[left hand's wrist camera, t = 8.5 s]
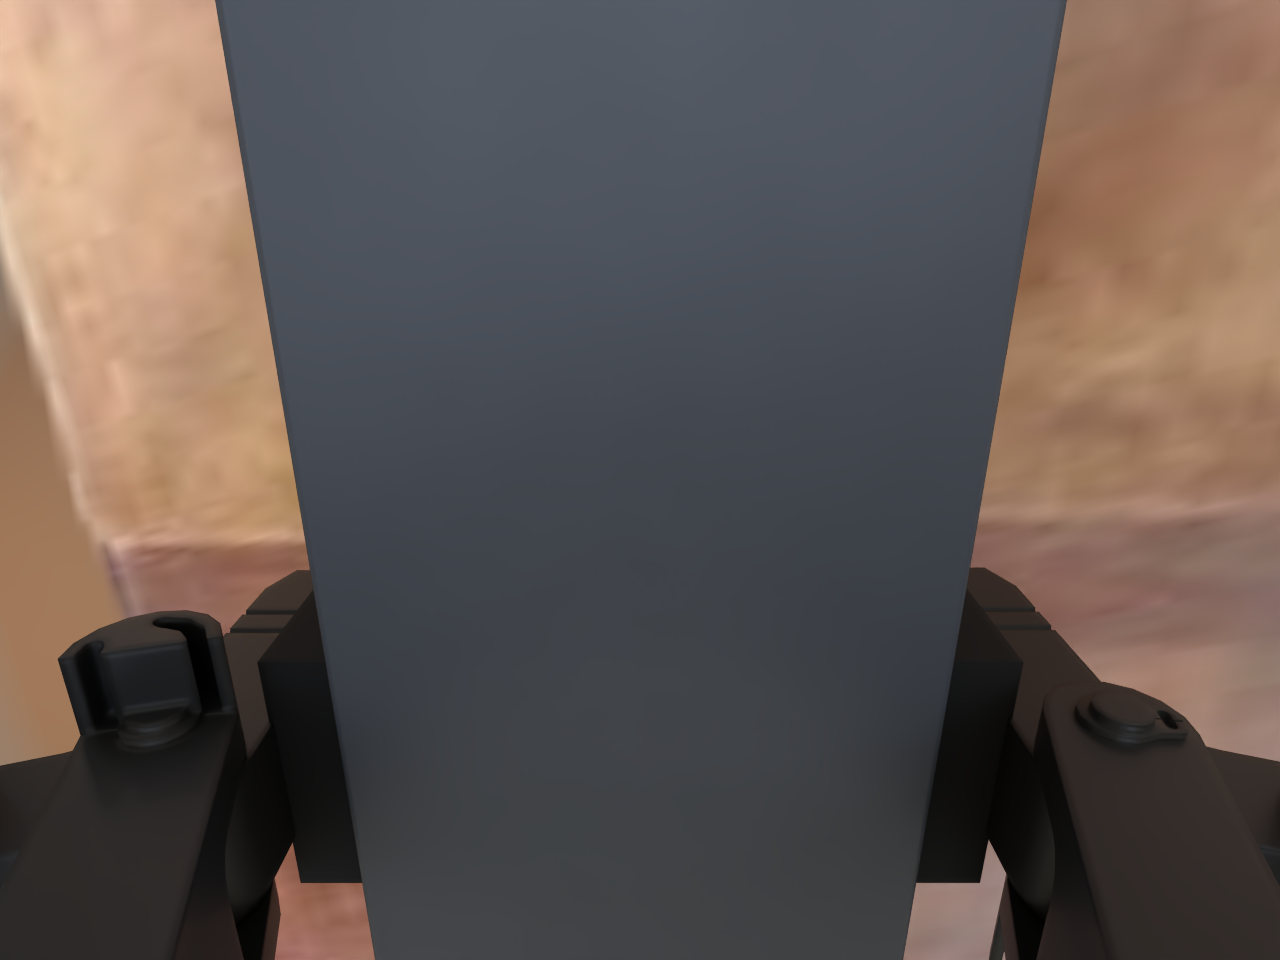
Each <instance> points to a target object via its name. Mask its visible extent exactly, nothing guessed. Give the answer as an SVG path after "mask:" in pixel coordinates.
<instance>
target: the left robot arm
mask: <svg viewBox="0 0 1280 960" xmlns="http://www.w3.org/2000/svg"><path fill="white" fill-rule="evenodd" d="M58 662H59V665H60V668H61V672H62V675H63V678H64V682H65V685H66V688H67V692H68V695H69V698H70V702H71V705H72V708H73V712H74V715H75V718H76V722H77V725H78V728H79V732H80V735H81V736H80V738H79V740H78V742H77V744H76V745H75V747H74V749H73V751H70V752H66V753H62V754H58V755H52V756H47V757H42V758H37V759H32V760H27V761H22V762H17V763H12V764H7V765H2V766H0V960H274V959H275V952H276V945H277V937H278V930H279V922H280V915H281V913H280V906H279V898H278V893H277V888H276V883H275V879H274V878H275V876H276V874H277V872H278V870H279V868H280V866H281V864H282V862H283V860H284V858H285V856H286V854H287V852H288V850H289V848H290V846H291V844H292V842H293V846H294V851H295V856H296V861H297V866H298V871H299V876H300V881H301V883H362V877H361V871H360V866H359V860H358V854H357V848H356V842H355V836H354V830H353V824H352V818H351V812H350V806H349V800H348V794H347V788H346V782H345V776H344V770H343V764H342V758H341V752H340V746H339V740H338V734H337V728H336V722H335V716H334V710H333V704H332V698H331V692H330V686H329V680H328V674H327V668H326V662H325V656H324V650H323V644H322V638H321V632H320V626H319V620H318V614H317V608H316V602H315V596H314V590H313V584H312V578H311V572H310V570H297V571H295V572H293V573H292V574H290V575H288V576H286V577H285V578H283V579H281V580H280V581H278V582H276V583H274V584H273V585H271V586H269V587H268V588H266V589H265V590H264V591H263V592H262V593H261V594H260V595H259V597H258V598H257V599H256V600H255V601H254V602H253V603H252V605H251V606H250V607H249V608H248V609H247V610H246V615H242V616H241V617H240V618H239V619H238V620H237V622H236V623H235V624H234V625H233V626H232V627H231V628H230V633H226V634H225V635H224V636H223V634H222V629H221V625H220V623H219V622H218V621H216V620H215V619H214V618H212V617H211V616H210V615H208V614H204V613H198V612H193V611H188V610H182V611H160V612H154V613H150V614H145V615H140V616H135V617H130V618H127V619H124V620H121V621H119V622H116V623H113V624H110V625H108V626H105V627H102V628H100V629H98V630H96V631H94V632H92V633H91V634H89V635H87V636H85V637H84V638H82V639H80V640H78V641H77V642H75V643H73V644H72V645H71V646H70V647H69V648H68V649H67V650H66V651H65V652H64V653H63V654H62V655H61V656H60V657H59V658H58ZM988 839H989V841H990V843H991V845H992V847H993V849H994V850H995V852H996V854H997V856H998V858H999V860H1000V862H1001V864H1002V866H1003V868H1004V870H1005V872H1006V879H1005V883H1004V888H1003V893H1002V897H1001V902H1000V907H999V911H998V916H997V921H996V926H995V930H994V935H993V940H992V944H991V949H990V956H989V960H1002V957H1003V953H1004V952H1005V957H1006V960H1280V762H1278V761H1273V760H1268V759H1263V758H1258V757H1253V756H1248V755H1243V754H1237V753H1232V752H1227V751H1222V750H1218V749H1214V748H1210V747H1206V746H1205V744H1204V742H1203V740H1202V738H1201V736H1200V734H1199V733H1198V732H1197V731H1196V730H1195V729H1194V727H1193V726H1192V725H1191V724H1190V723H1189V721H1188V720H1187V719H1186V718H1185V717H1184V716H1183V715H1181V714H1180V713H1178V712H1177V711H1175V710H1174V709H1172V708H1171V707H1169V706H1168V705H1166V704H1165V703H1163V702H1162V701H1160V700H1158V699H1155V698H1153V697H1151V696H1148V695H1146V694H1144V693H1141V692H1139V691H1137V690H1134V689H1131V688H1127V687H1123V686H1119V685H1115V684H1110V683H1106V682H1101V681H1100V680H1099V679H1098V678H1097V677H1096V676H1095V674H1094V673H1093V672H1092V671H1091V670H1090V669H1089V668H1088V667H1087V665H1086V664H1085V663H1084V662H1083V661H1082V660H1081V659H1080V658H1079V656H1078V655H1077V654H1076V653H1075V652H1074V651H1073V650H1072V649H1071V647H1070V646H1069V645H1068V644H1067V643H1066V642H1065V641H1064V640H1063V638H1062V637H1061V636H1060V635H1059V634H1058V633H1057V632H1056V631H1055V630H1051V625H1050V624H1049V623H1048V622H1047V620H1046V619H1045V618H1044V617H1043V616H1042V615H1041V614H1040V613H1039V612H1035V607H1034V606H1033V605H1032V604H1031V602H1030V601H1029V600H1028V599H1027V598H1026V597H1025V596H1024V595H1023V593H1022V592H1021V591H1020V590H1019V589H1018V588H1017V587H1016V586H1015V585H1013V584H1012V583H1010V582H1008V581H1006V580H1005V579H1003V578H1001V577H1000V576H998V575H996V574H994V573H993V572H991V571H989V570H988V569H986V568H970V570H969V576H968V582H967V587H966V593H965V599H964V605H963V611H962V617H961V623H960V628H959V634H958V640H957V646H956V652H955V658H954V664H953V669H952V675H951V681H950V687H949V693H948V699H947V705H946V710H945V716H944V722H943V728H942V734H941V740H940V746H939V751H938V757H937V763H936V769H935V775H934V781H933V787H932V792H931V798H930V804H929V810H928V816H927V822H926V827H925V833H924V839H923V845H922V851H921V857H920V863H919V868H918V874H917V880H916V883H980V879H981V874H982V869H983V864H984V859H985V854H986V849H987V844H988Z"/></svg>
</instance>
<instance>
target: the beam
mask: <svg viewBox="0 0 1280 960" xmlns="http://www.w3.org/2000/svg"><path fill="white" fill-rule="evenodd" d="M215 2H216V8H217V14H218V20H219V26H220V32H221V38H222V44H223V50H224V56H225V62H226V68H227V74H228V80H229V86H230V92H231V98H232V104H233V110H234V116H235V122H236V128H237V134H238V140H239V146H240V152H241V158H242V164H243V170H244V176H245V182H246V188H247V194H248V200H249V206H250V212H251V218H252V224H253V230H254V236H255V242H256V248H257V254H258V260H259V266H260V272H261V278H262V284H263V290H264V296H265V302H266V308H267V314H268V320H269V326H270V332H271V338H272V344H273V350H274V356H275V362H276V368H277V374H278V380H279V386H280V392H281V398H282V404H283V410H284V416H285V422H286V428H287V434H288V440H289V446H290V452H291V458H292V464H293V470H294V476H295V482H296V488H297V494H298V500H299V506H300V512H301V518H302V524H303V530H304V536H305V542H306V548H307V554H308V560H309V566H310V572H311V578H312V584H313V590H314V596H315V602H316V608H317V614H318V620H319V626H320V632H321V638H322V644H323V650H324V656H325V662H326V668H327V674H328V680H329V686H330V692H331V698H332V704H333V710H334V716H335V722H336V728H337V734H338V740H339V746H340V752H341V758H342V764H343V770H344V776H345V782H346V788H347V794H348V800H349V806H350V812H351V818H352V824H353V830H354V836H355V842H356V848H357V854H358V860H359V866H360V871H361V877H362V883H363V889H364V895H365V901H366V907H367V913H368V919H369V925H370V931H371V937H372V943H373V949H374V955H375V960H903V956H904V950H905V945H906V939H907V933H908V927H909V921H910V915H911V909H912V904H913V898H914V892H915V886H916V880H917V874H918V868H919V863H920V857H921V851H922V845H923V839H924V833H925V827H926V822H927V816H928V810H929V804H930V798H931V792H932V787H933V781H934V775H935V769H936V763H937V757H938V751H939V746H940V740H941V734H942V728H943V722H944V716H945V710H946V705H947V699H948V693H949V687H950V681H951V675H952V669H953V664H954V658H955V652H956V646H957V640H958V634H959V628H960V623H961V617H962V611H963V605H964V599H965V593H966V587H967V582H968V576H969V570H970V564H971V558H972V552H973V547H974V541H975V535H976V529H977V523H978V517H979V511H980V506H981V500H982V494H983V488H984V482H985V476H986V470H987V465H988V459H989V453H990V447H991V441H992V435H993V429H994V424H995V418H996V412H997V406H998V400H999V394H1000V388H1001V383H1002V377H1003V371H1004V365H1005V359H1006V353H1007V347H1008V342H1009V336H1010V330H1011V324H1012V318H1013V312H1014V306H1015V301H1016V295H1017V289H1018V283H1019V277H1020V271H1021V266H1022V260H1023V254H1024V248H1025V242H1026V236H1027V230H1028V225H1029V219H1030V213H1031V207H1032V201H1033V195H1034V189H1035V184H1036V178H1037V172H1038V166H1039V160H1040V154H1041V148H1042V143H1043V137H1044V131H1045V125H1046V119H1047V113H1048V107H1049V102H1050V96H1051V90H1052V84H1053V78H1054V72H1055V66H1056V61H1057V55H1058V49H1059V43H1060V37H1061V31H1062V25H1063V20H1064V14H1065V8H1066V2H1067V0H215Z"/></svg>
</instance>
